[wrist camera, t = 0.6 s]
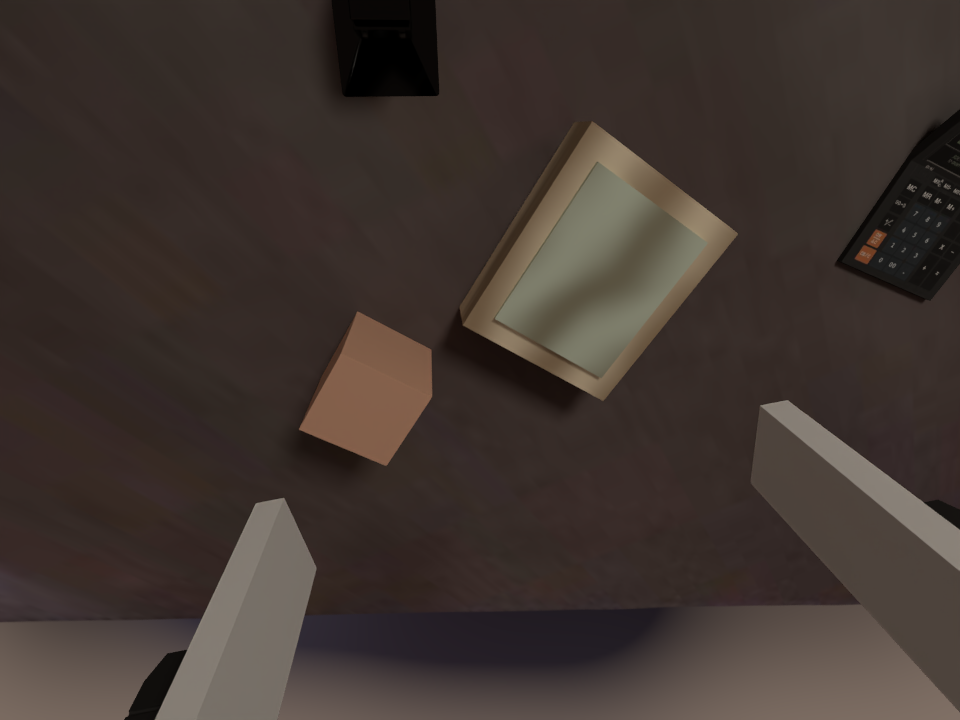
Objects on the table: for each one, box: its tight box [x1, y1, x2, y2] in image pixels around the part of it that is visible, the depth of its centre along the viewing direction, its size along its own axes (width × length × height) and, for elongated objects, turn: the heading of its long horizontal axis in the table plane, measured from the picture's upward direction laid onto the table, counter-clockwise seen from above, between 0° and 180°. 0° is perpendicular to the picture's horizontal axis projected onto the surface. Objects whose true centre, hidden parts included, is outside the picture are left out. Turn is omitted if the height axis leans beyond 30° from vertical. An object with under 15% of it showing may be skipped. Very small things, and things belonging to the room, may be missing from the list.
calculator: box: [837, 110, 960, 300], centre depth 33 cm, size 9×12×3 cm
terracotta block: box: [299, 312, 432, 466], centre depth 32 cm, size 6×6×7 cm
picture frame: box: [460, 121, 738, 401], centre depth 32 cm, size 12×14×4 cm
